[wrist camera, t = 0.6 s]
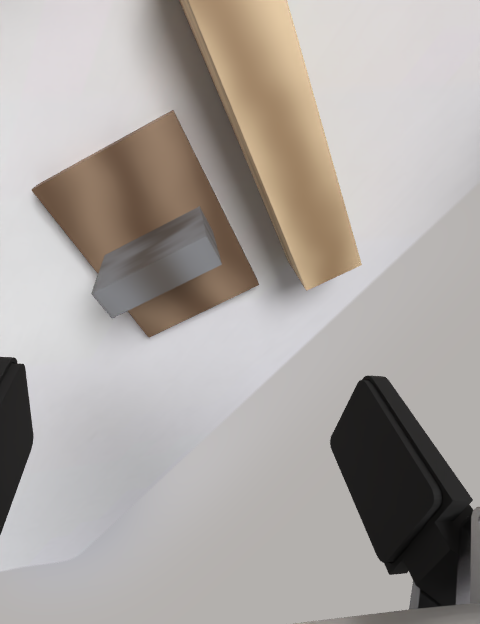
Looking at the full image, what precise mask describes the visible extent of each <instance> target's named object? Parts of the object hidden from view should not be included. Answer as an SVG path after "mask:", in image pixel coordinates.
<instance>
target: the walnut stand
mask: <svg viewBox="0 0 480 624" xmlns="http://www.w3.org/2000/svg"><path fill="white" fill-rule="evenodd" d="M32 191H33V193H34V194H35V195H36V196H37V198H38V199H39V200H40V201H41V203H42V204H43V205H44V206H45V208H46V209H47V210H48V212H49V213H50V214H51V215H52V217H53V218H54V219H55V220H56V222H57V223H58V224H59V225H60V227H61V228H62V229H63V230H64V232H65V233H66V234H67V235H68V237H69V238H70V239H71V240H72V242H73V243H74V244H75V245H76V247H77V248H78V249H79V251H80V252H81V253H82V254H83V256H84V257H85V258H86V259H87V261H88V262H89V263H90V264H91V266H92V267H93V268H94V269H95V271H96V272H97V273H98V276H97V279H96V282H95V285H94V288H93V291H92V295H93V296H94V298H95V299H96V300H97V301H98V302H99V304H100V305H101V306H102V307H103V308H104V310H105V311H106V312H107V313H108V314H109V315H110V317H111V318H114V317H116V316H118V315H120V314H122V313H124V312H126V311H128V312H129V313H130V315H131V316H132V317H133V318H134V320H135V321H136V322H137V324H138V325H139V326H140V327H141V329H142V330H143V331H144V332H145V334H146V335H147V336H148V337H151V336H153V335H156V334H158V333H160V332H162V331H164V330H166V329H168V328H170V327H172V326H174V325H176V324H178V323H181V322H183V321H185V320H187V319H189V318H191V317H193V316H195V315H197V314H199V313H201V312H203V311H206V310H208V309H210V308H212V307H214V306H216V305H218V304H220V303H222V302H224V301H226V300H228V299H231V298H233V297H235V296H237V295H239V294H241V293H243V292H245V291H247V290H249V289H251V288H253V287H256V286H258V285H259V283H258V281H257V278H256V276H255V274H254V272H253V270H252V268H251V266H250V264H249V262H248V260H247V258H246V256H245V254H244V252H243V250H242V248H241V246H240V244H239V242H238V240H237V238H236V236H235V234H234V232H233V230H232V228H231V226H230V224H229V222H228V220H227V218H226V216H225V214H224V212H223V210H222V208H221V206H220V204H219V201H218V199H217V197H216V195H215V193H214V191H213V189H212V187H211V185H210V183H209V181H208V179H207V177H206V175H205V173H204V171H203V169H202V167H201V165H200V163H199V161H198V159H197V157H196V155H195V153H194V151H193V149H192V147H191V145H190V143H189V141H188V139H187V137H186V135H185V133H184V131H183V129H182V127H181V125H180V123H179V121H178V119H177V117H176V115H175V113H174V111H173V110H172V111H170V112H169V113H167V114H165V115H163V116H161V117H160V118H158V119H156V120H154V121H152V122H150V123H149V124H147V125H145V126H143V127H141V128H140V129H138V130H136V131H134V132H132V133H130V134H129V135H127V136H125V137H123V138H121V139H120V140H118V141H116V142H114V143H112V144H110V145H109V146H107V147H105V148H103V149H101V150H100V151H98V152H96V153H94V154H92V155H90V156H89V157H87V158H85V159H83V160H81V161H80V162H78V163H76V164H74V165H72V166H70V167H69V168H67V169H65V170H63V171H61V172H60V173H58V174H56V175H54V176H52V177H50V178H49V179H47V180H45V181H43V182H41V183H40V184H38V185H36V186H35V187H34V188H33V189H32Z"/></svg>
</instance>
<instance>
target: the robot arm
mask: <svg viewBox="0 0 480 624" xmlns="http://www.w3.org/2000/svg"><path fill="white" fill-rule="evenodd" d="M32 444H33V428H32V420H31V412H30V404H29V396H28V387H27V379H26V371H25V366H24V364H17V360H16V358H12V357H0V534H1V532H2V529H3V526H4V523H5V521H6V518H7V515H8V512H9V510H10V507H11V504H12V501H13V499H14V496H15V493H16V490H17V487H18V485H19V482H20V479H21V476H22V474H23V471H24V468H25V465H26V463H27V460H28V457H29V454H30V452H31V448H32ZM330 445H331V449H332V451H333V454H334V456H335V459H336V461H337V463H338V466H339V468H340V470H341V473H342V475H343V477H344V480H345V482H346V484H347V487H348V489H349V491H350V493H351V496H352V498H353V501H354V503H355V505H356V508H357V510H358V512H359V515H360V517H361V519H362V522H363V524H364V526H365V529H366V531H367V533H368V536H369V538H370V541H371V543H372V545H373V547H374V550H375V552H376V555H377V556H378V558H379V559H380V561H382V562H383V563H385V566H386V568H387V570H388V573H389V574H390V575H392V574H402V573H407V572H408V571H409V572H410V574H411V576H412V578H413V586H412V593H411V600H410V607H409V610H403V611H394V612H387V613H378V614H369V615H361V616H352V617H344V618H336V619H328V620H320V621H311V622H304V623H296V624H480V507H477V508H476V509H474V510H473V509H472V508H471V506H470V505H469V504H470V503H471V502H472V500H473V499H472V498H471V497H470V495H469V494H468V492H467V491H466V489H465V488H464V487H463V485H462V484H461V482H460V481H459V480H458V478H457V477H456V475H455V474H454V472H453V471H452V470H451V468H450V467H449V466H448V464H447V462H446V461H445V460H444V458H443V457H442V455H441V454H440V453H439V451H438V450H437V448H436V447H435V446H434V444H433V443H432V441H431V440H430V438H429V437H428V435H427V434H426V433H425V431H424V430H423V428H422V427H421V426H420V424H419V423H418V421H417V420H416V419H415V417H414V416H413V414H412V413H411V411H410V410H409V409H408V407H407V406H406V404H405V403H404V401H403V400H402V399H401V397H400V396H399V395H398V393H397V392H396V390H395V389H394V387H393V386H392V384H391V383H390V382H389V380H388V379H387V378H386V377H381V376H365V377H364V378H363V379H362V380H361V381H359V382H358V384H357V386H356V388H355V390H354V392H353V394H352V396H351V398H350V400H349V402H348V404H347V406H346V408H345V410H344V412H343V414H342V416H341V418H340V420H339V422H338V424H337V426H336V428H335V430H334V432H333V434H332V436H331V440H330Z"/></svg>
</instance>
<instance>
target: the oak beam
mask: <svg viewBox="0 0 480 624" xmlns="http://www.w3.org/2000/svg"><path fill="white" fill-rule="evenodd" d="M179 1H180V4H181V6H182V8H183V11H184V13H185V15H186V18H187V20H188V23H189V25H190V27H191V30H192V32H193V35H194V37H195V39H196V42H197V44H198V47H199V49H200V51H201V54H202V56H203V59H204V61H205V63H206V66H207V68H208V70H209V73H210V75H211V78H212V80H213V82H214V85H215V87H216V90H217V92H218V94H219V97H220V99H221V102H222V104H223V106H224V109H225V111H226V114H227V116H228V118H229V121H230V123H231V125H232V128H233V130H234V133H235V135H236V137H237V140H238V142H239V145H240V147H241V149H242V152H243V154H244V157H245V159H246V161H247V164H248V166H249V169H250V171H251V173H252V176H253V178H254V180H255V183H256V185H257V188H258V190H259V192H260V195H261V197H262V200H263V202H264V204H265V207H266V209H267V212H268V214H269V216H270V219H271V221H272V224H273V226H274V228H275V231H276V233H277V235H278V238H279V240H280V243H281V245H282V247H283V250H284V252H285V255H286V257H287V259H288V262H289V263H290V265H291V267H292V268H293V270H294V271H295V273H296V275H297V276H298V278H299V280H300V281H301V283H302V284H303V286H304V288H305V289H306V291H307V290H309V289H311V288H313V287H316V286H318V285H320V284H322V283H324V282H326V281H328V280H330V279H333V278H335V277H337V276H339V275H341V274H343V273H345V272H348V271H350V270H352V269H354V268H356V267H358V266H360V265H362V264H361V261H360V257H359V254H358V250H357V246H356V243H355V239H354V236H353V232H352V229H351V225H350V222H349V218H348V215H347V211H346V208H345V204H344V200H343V197H342V193H341V190H340V186H339V183H338V179H337V176H336V172H335V169H334V165H333V162H332V158H331V154H330V151H329V147H328V144H327V140H326V137H325V133H324V130H323V126H322V123H321V119H320V116H319V112H318V109H317V105H316V101H315V98H314V94H313V91H312V87H311V84H310V80H309V77H308V73H307V70H306V66H305V63H304V59H303V55H302V52H301V48H300V45H299V41H298V38H297V34H296V31H295V27H294V24H293V20H292V17H291V13H290V10H289V6H288V2H287V0H179Z"/></svg>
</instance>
